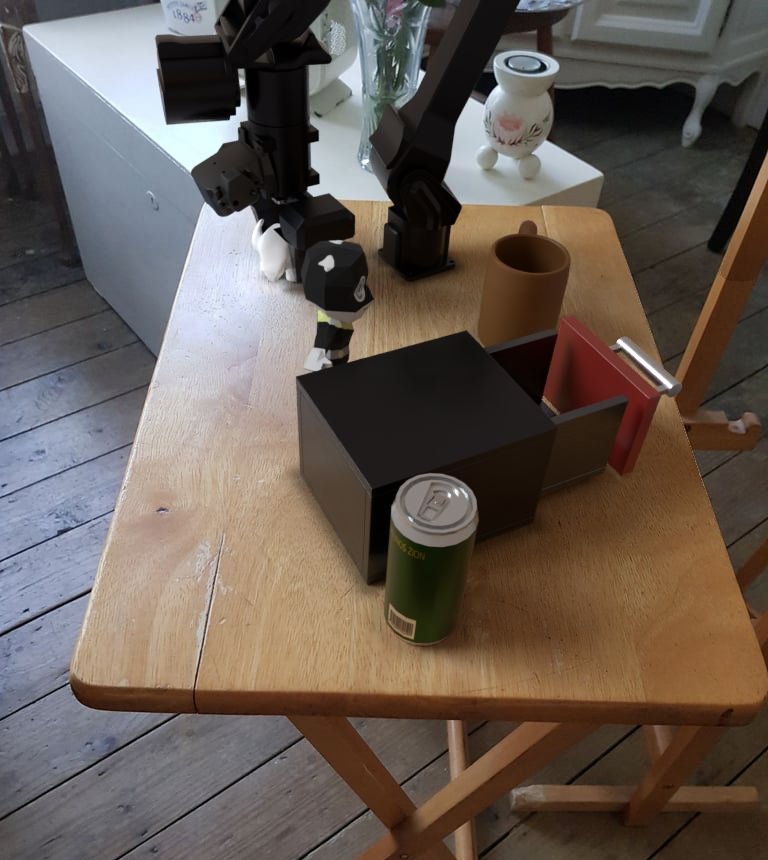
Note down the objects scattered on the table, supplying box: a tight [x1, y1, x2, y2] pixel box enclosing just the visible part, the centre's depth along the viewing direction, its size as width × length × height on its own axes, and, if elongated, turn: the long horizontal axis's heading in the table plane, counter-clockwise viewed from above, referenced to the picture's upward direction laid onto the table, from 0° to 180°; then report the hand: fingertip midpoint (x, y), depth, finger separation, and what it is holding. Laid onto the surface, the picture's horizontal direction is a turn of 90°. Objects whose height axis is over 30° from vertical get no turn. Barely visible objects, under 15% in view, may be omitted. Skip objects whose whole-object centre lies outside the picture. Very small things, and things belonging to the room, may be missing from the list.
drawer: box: [483, 314, 683, 497], centre depth 66 cm, size 18×11×8 cm, turn 117°
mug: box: [477, 219, 572, 348], centre depth 79 cm, size 12×8×9 cm, turn 173°
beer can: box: [383, 473, 479, 647], centre depth 53 cm, size 5×5×12 cm
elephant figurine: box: [251, 219, 295, 284], centre depth 85 cm, size 7×8×6 cm
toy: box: [301, 240, 375, 372], centre depth 68 cm, size 13×6×15 cm, turn 168°
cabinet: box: [295, 329, 558, 586], centre depth 62 cm, size 15×13×10 cm
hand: (286, 267), depth 86 cm, fingers closed on elephant figurine, 6 cm apart
